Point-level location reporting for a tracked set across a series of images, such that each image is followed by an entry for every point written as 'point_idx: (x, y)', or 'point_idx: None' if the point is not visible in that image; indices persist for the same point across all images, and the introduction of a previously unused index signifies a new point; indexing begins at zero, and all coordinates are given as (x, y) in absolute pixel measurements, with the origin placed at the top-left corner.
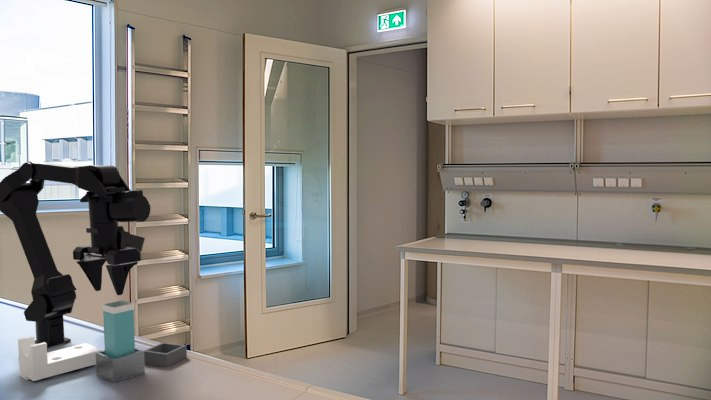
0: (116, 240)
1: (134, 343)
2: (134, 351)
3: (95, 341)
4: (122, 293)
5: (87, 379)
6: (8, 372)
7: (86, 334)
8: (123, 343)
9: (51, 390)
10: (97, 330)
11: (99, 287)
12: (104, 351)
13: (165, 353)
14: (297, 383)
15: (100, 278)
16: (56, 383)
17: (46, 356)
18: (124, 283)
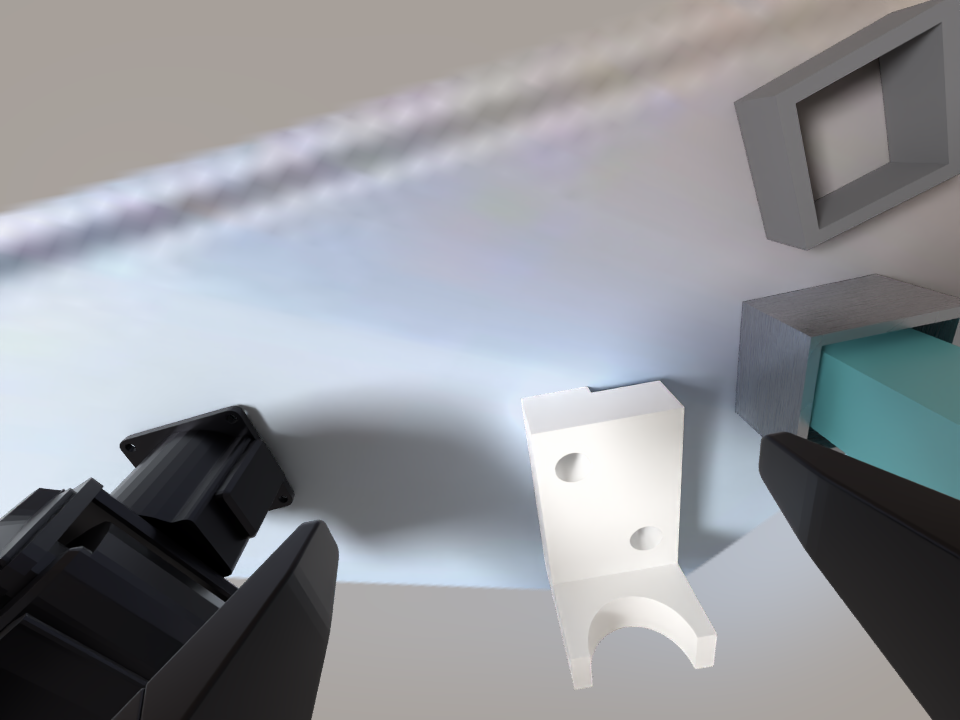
0: None
1: None
2: (932, 339)
3: (289, 318)
4: (792, 436)
5: (744, 438)
6: (492, 584)
7: (125, 324)
8: None
9: (739, 521)
10: (56, 258)
11: (317, 554)
12: (807, 434)
13: (944, 168)
14: None
15: (253, 645)
16: (696, 506)
17: (690, 588)
18: (946, 508)
